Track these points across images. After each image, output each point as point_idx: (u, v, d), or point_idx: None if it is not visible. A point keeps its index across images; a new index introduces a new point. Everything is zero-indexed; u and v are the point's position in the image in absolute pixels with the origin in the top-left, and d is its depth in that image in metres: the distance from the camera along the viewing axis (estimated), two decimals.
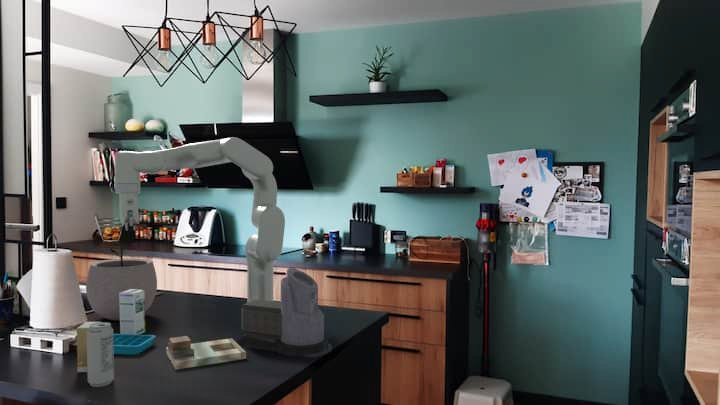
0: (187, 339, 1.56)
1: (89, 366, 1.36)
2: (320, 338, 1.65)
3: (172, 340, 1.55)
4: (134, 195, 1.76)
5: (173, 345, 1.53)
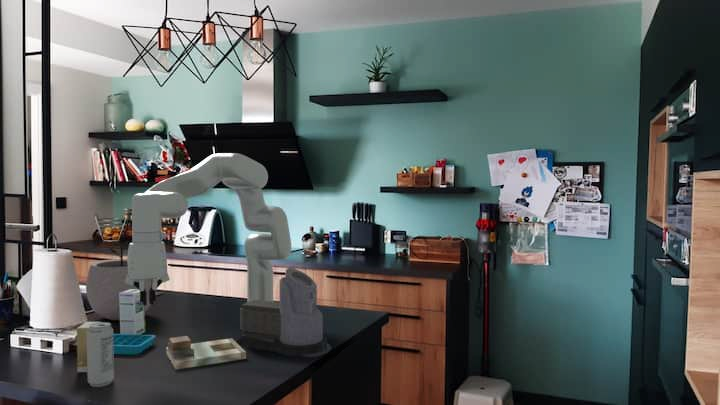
0: (187, 339, 1.56)
1: (89, 366, 1.36)
2: (318, 338, 1.65)
3: (172, 340, 1.55)
4: None
5: (173, 345, 1.53)
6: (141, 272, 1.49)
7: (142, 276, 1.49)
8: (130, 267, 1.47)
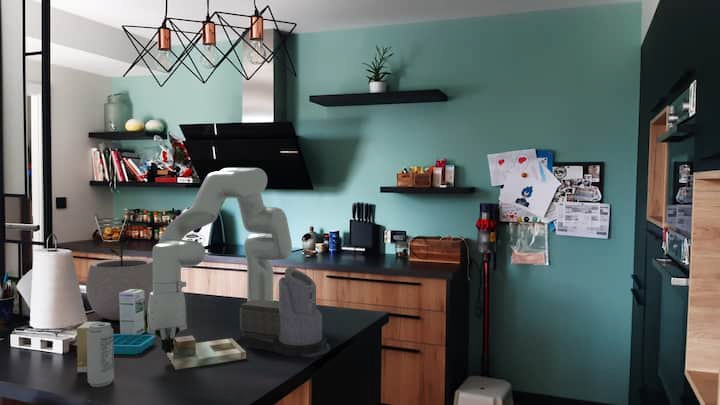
0: (192, 339, 1.57)
1: (89, 366, 1.36)
2: (318, 338, 1.65)
3: (177, 339, 1.56)
4: None
5: (178, 344, 1.54)
6: (161, 321, 1.52)
7: (162, 325, 1.52)
8: (150, 317, 1.51)
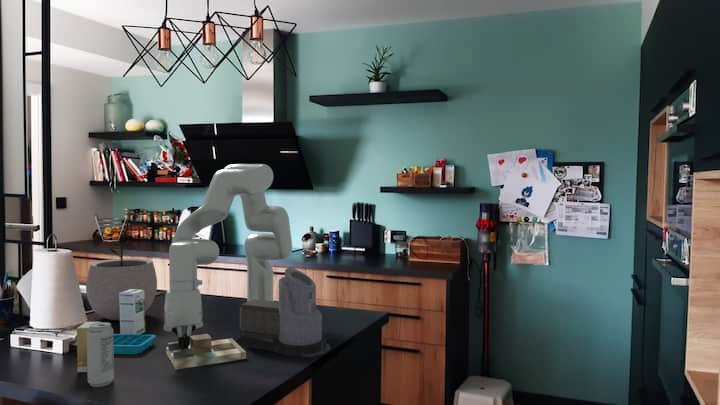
0: (208, 337, 1.59)
1: (89, 366, 1.36)
2: (317, 338, 1.65)
3: (193, 338, 1.58)
4: None
5: (194, 343, 1.56)
6: (178, 319, 1.54)
7: (179, 323, 1.54)
8: (168, 315, 1.53)
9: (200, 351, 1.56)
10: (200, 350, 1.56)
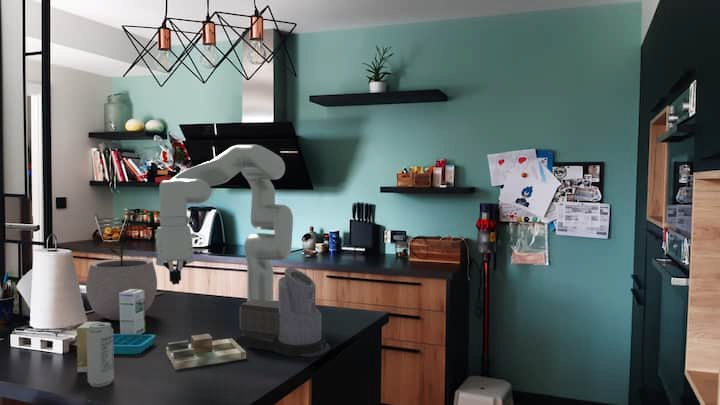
0: (209, 337, 1.59)
1: (89, 366, 1.36)
2: (317, 338, 1.66)
3: (194, 338, 1.58)
4: None
5: (195, 342, 1.56)
6: (169, 254, 1.60)
7: (170, 257, 1.60)
8: (159, 249, 1.58)
9: (201, 351, 1.57)
10: (201, 350, 1.57)
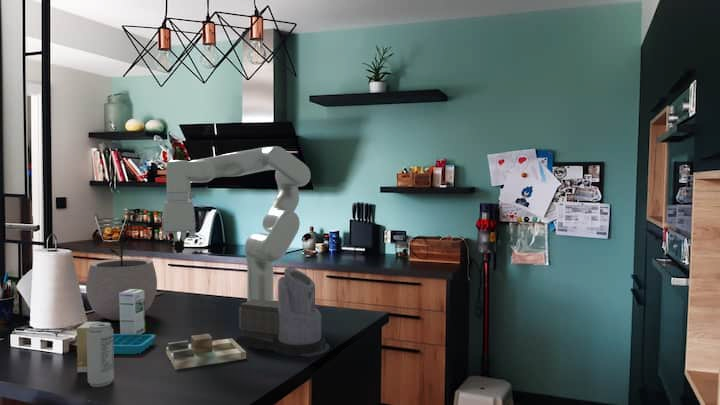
0: (209, 337, 1.59)
1: (89, 366, 1.36)
2: (317, 337, 1.66)
3: (194, 338, 1.58)
4: None
5: (195, 342, 1.56)
6: (174, 225, 1.79)
7: (175, 229, 1.79)
8: (165, 221, 1.78)
9: (201, 351, 1.57)
10: (201, 350, 1.57)
